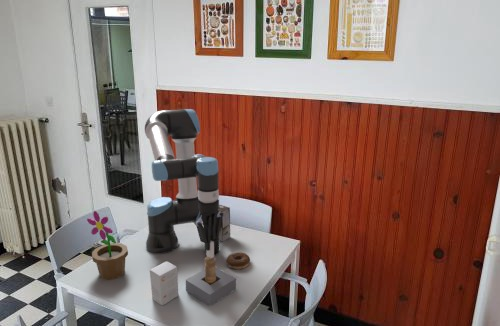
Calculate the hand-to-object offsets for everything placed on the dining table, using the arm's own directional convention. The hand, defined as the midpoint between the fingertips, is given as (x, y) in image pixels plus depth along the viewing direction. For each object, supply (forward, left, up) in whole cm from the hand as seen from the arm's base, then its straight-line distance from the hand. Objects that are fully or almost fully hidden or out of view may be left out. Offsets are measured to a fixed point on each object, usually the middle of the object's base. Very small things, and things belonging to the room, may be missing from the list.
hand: (210, 256), depth 148 cm
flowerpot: (-40, -20, -15) cm, 47 cm away
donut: (-5, +21, -16) cm, 27 cm away
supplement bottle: (-21, +20, -15) cm, 33 cm away
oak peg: (0, 0, -15) cm, 15 cm away
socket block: (0, 0, -15) cm, 15 cm away
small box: (-10, -15, -16) cm, 24 cm away
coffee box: (-29, +33, -15) cm, 47 cm away
